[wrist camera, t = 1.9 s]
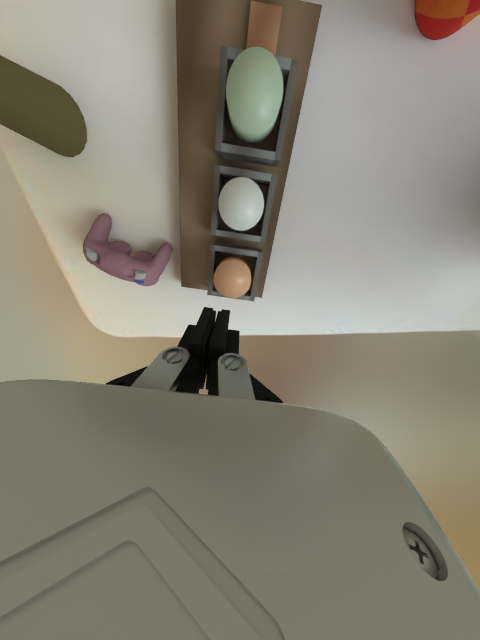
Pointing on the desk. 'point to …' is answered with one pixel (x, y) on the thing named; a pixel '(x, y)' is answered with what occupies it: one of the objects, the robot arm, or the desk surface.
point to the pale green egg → (254, 94)
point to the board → (218, 135)
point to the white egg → (241, 203)
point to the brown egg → (232, 277)
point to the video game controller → (122, 255)
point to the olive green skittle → (40, 110)
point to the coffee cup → (444, 16)
